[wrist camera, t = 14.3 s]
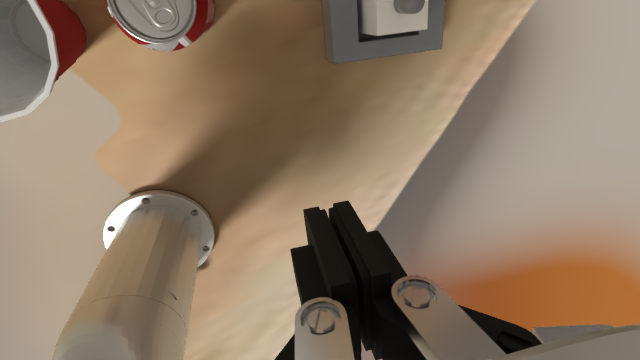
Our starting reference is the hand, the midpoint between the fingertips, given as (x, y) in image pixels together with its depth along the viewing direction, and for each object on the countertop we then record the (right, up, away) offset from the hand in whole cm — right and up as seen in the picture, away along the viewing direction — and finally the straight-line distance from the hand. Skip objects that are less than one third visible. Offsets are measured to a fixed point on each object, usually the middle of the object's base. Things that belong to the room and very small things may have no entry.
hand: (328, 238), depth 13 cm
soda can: (-14, +19, +21) cm, 31 cm away
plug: (+6, +21, +24) cm, 32 cm away
